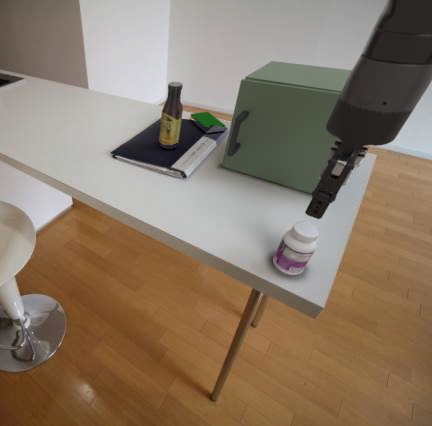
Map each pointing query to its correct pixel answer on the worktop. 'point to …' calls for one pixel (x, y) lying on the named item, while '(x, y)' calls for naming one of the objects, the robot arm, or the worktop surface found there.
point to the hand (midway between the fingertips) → (320, 202)
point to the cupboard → (301, 76)
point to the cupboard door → (280, 133)
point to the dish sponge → (206, 119)
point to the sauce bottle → (171, 115)
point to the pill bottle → (296, 248)
